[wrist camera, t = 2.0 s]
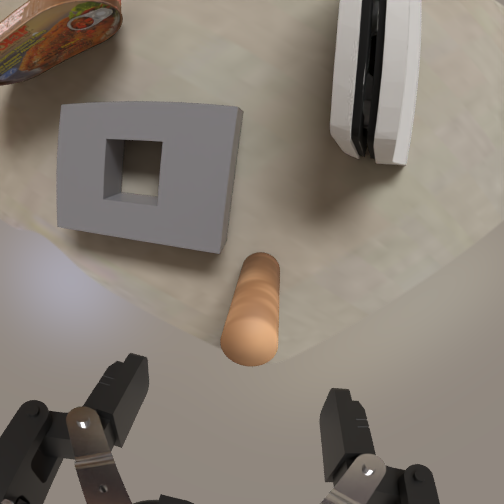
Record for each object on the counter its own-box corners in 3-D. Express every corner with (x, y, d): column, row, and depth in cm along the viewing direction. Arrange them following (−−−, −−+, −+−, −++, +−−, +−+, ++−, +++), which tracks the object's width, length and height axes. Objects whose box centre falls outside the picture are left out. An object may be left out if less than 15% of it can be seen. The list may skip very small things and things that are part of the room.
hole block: (243, 111, 21) (238, 106, 19) (226, 240, 25) (219, 253, 22) (82, 106, 22) (61, 104, 19) (76, 217, 25) (57, 226, 22)
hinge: (404, 170, 22) (413, 174, 13) (346, 156, 23) (318, 151, 15) (420, -11, 16) (422, -81, 7) (366, -20, 18) (344, -90, 9)
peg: (282, 255, 25) (282, 325, 15) (276, 289, 26) (272, 370, 16) (244, 249, 25) (222, 316, 16) (240, 283, 26) (218, 361, 17)
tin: (15, 89, 21) (-46, 88, 13) (14, 63, 20) (-44, 57, 12) (140, 28, 19) (86, -7, 11) (138, 0, 18) (87, -40, 10)
